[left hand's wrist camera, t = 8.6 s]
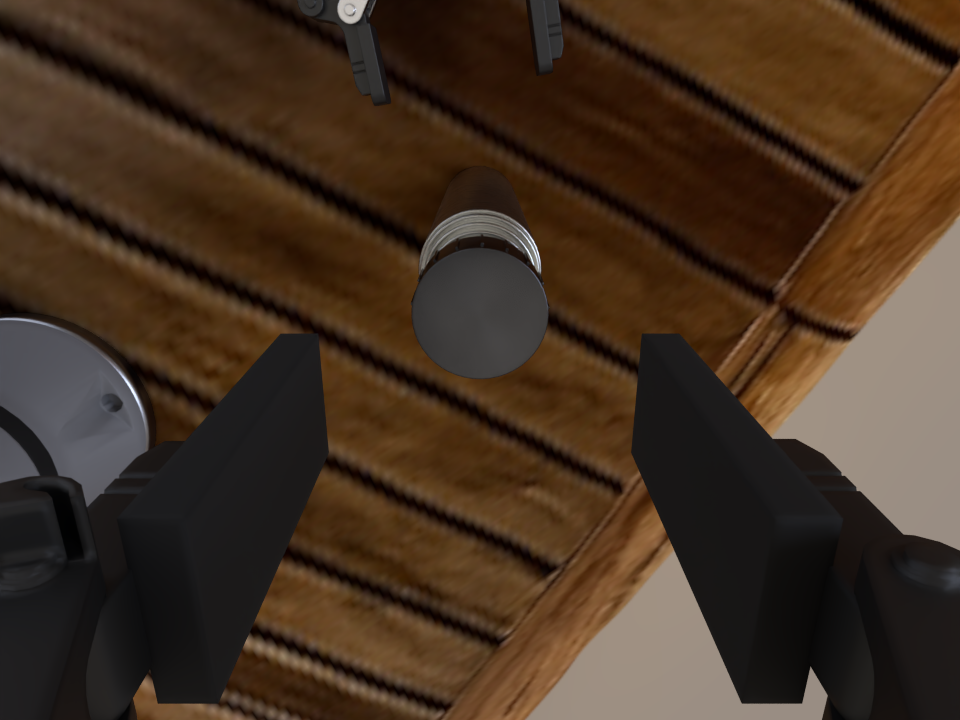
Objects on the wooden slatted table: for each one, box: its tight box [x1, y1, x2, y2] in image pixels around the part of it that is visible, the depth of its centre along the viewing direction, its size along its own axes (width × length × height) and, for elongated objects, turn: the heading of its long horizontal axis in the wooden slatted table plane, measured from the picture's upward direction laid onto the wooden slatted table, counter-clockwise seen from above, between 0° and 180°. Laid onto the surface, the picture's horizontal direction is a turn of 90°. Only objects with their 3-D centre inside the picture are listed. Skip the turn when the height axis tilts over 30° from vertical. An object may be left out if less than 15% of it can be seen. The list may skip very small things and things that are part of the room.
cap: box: [411, 234, 549, 379], centre depth 20 cm, size 4×4×2 cm
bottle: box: [419, 166, 541, 275], centre depth 31 cm, size 4×4×24 cm
